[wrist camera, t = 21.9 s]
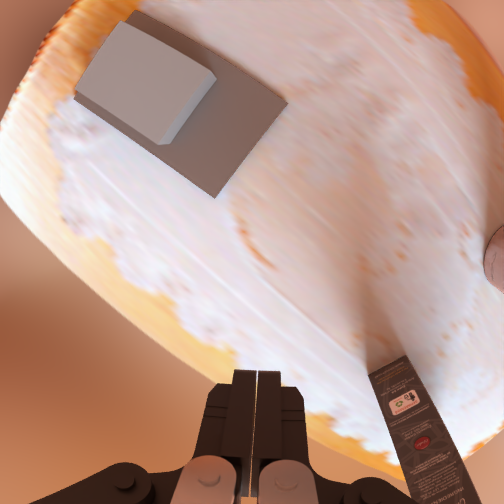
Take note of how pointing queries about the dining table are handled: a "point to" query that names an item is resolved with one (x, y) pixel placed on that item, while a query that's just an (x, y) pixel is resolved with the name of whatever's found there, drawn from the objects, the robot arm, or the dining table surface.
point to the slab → (145, 83)
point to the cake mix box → (421, 438)
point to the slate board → (206, 115)
